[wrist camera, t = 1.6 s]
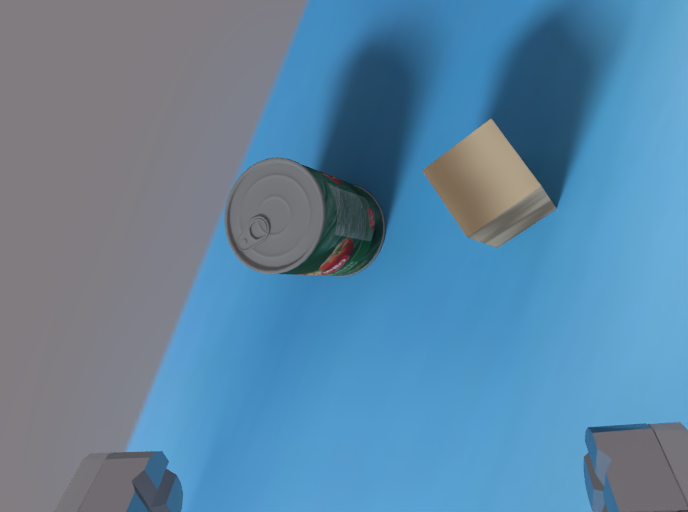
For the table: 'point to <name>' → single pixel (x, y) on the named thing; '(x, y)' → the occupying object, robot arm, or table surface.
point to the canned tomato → (302, 221)
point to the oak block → (488, 187)
